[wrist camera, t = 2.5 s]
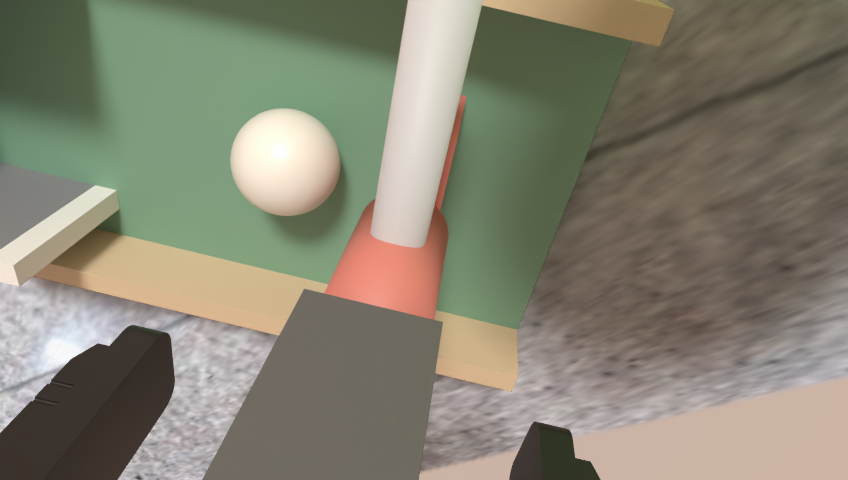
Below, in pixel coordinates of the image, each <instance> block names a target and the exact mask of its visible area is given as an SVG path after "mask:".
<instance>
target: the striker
mask: <svg viewBox="0 0 848 480" xmlns="http://www.w3.org/2000/svg"><path fill="white" fill-rule="evenodd" d="M482 3H483V0H408V3H407V9H406V16H405V22H404V28H403V34H402V40H401V46H400V52H399V58H398V65H397V71H396V77H395V83H394V89H393V95H392V101H391V107H390V114H389V120H388V126H387V132H386V138H385V144H384V150H383V156H382V163H381V169H380V175H379V181H378V187H377V193H376V198H375V199H374V200H372V201H371V202H370V203H369V204H368V205H367V206H366V207H365V209H364V211H363V212H362V215H361V217H360V219H359V221H358V223H357V225H356V227H355V229H354V231H353V233H352V236H351V238H350V240H349V242H348V244H347V246H346V248H345V250H344V252H343V255H342V257H341V259H340V261H339V263H338V265H337V267H336V269H335V271H334V274H333V276H332V278H331V280H330V282H329V284H328V286H327V288H326V290H325V292H324V293H320V292H316V291H312V290H308V289H304V290H303V292H302V294H301V296H300V297H299V299H298V301H297V303H296V305H295V307H294V309H293V311H292V312H291V314H290V316H289V318H288V320H287V322H286V324H285V326H284V328H283V329H282V331H281V333H280V335H279V337H278V339H277V341H276V343H275V344H274V346H273V348H272V350H271V352H270V354H269V356H268V358H267V359H266V361H265V363H264V365H263V367H262V369H261V371H260V373H259V374H258V376H257V378H256V380H255V382H254V384H253V386H252V388H251V389H250V391H249V393H248V395H247V397H246V399H245V401H244V403H243V404H242V406H241V408H240V410H239V412H238V414H237V416H236V418H235V420H234V421H233V423H232V425H231V427H230V429H229V431H228V433H227V435H226V436H225V438H224V440H223V442H222V444H221V446H220V448H219V450H218V451H217V453H216V455H215V457H214V459H213V461H212V463H211V465H210V466H209V468H208V470H207V472H206V474H205V476H204V478H203V480H419V474H420V467H421V461H422V454H423V448H424V442H425V435H426V429H427V422H428V416H429V409H430V403H431V397H432V390H433V384H434V377H435V371H436V364H437V358H438V352H439V345H440V339H441V332H442V326H443V322H441V321H437V320H434V317H435V311H436V306H437V300H438V294H439V289H440V283H441V278H442V272H443V266H444V261H445V255H446V250H447V244H448V238H449V231H448V226H447V222H446V220H445V218H444V216H443V214H442V213H441V211H440V209H441V205H442V200H443V196H444V192H445V188H446V184H447V180H448V176H449V172H450V168H451V164H452V160H453V156H454V151H455V147H456V143H457V139H458V134H459V130H460V125H461V120H462V116H463V111H464V106H465V102H466V97H467V96H464V95H461V91H462V87H463V83H464V79H465V75H466V70H467V66H468V62H469V58H470V53H471V49H472V45H473V41H474V37H475V32H476V28H477V24H478V20H479V15H480V11H481V7H482Z"/></svg>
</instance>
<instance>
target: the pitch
mask: <svg viewBox="0 0 848 480" xmlns="http://www.w3.org/2000/svg"><path fill="white" fill-rule="evenodd" d="M407 3H408V0H0V282H3V283H7V284H11V285H15V286H19V287H20V286H21V285H22V284H23V283H25V282H26V281H27V280H29V279H30V278H31V277H32V276H33V277H37V278H42V279H46V280H50V281H54V282H58V283H62V284H67V285H71V286H75V287H79V288H83V289H87V290H91V291H96V292H100V293H104V294H108V295H112V296H116V297H121V298H125V299H129V300H133V301H137V302H141V303H145V304H150V305H154V306H158V307H162V308H166V309H170V310H175V311H179V312H183V313H187V314H191V315H195V316H199V317H204V318H208V319H212V320H216V321H220V322H224V323H229V324H233V325H237V326H241V327H245V328H249V329H253V330H258V331H262V332H266V333H270V334H274V335H278V336H279V335H280V333H281V331H282V329H283V328H284V326H285V324H286V322H287V320H288V318H289V316H290V314H291V312H292V311H293V309H294V307H295V305H296V303H297V301H298V299H299V297H300V296H301V294H302V292H303V290H304V289H308V290H312V291H316V292H320V293H324V292H325V290H326V288H327V286H328V284H329V282H330V280H331V278H332V276H333V274H334V271H335V269H336V267H337V265H338V263H339V261H340V259H341V257H342V255H343V252H344V250H345V248H346V246H347V244H348V242H349V240H350V238H351V236H352V233H353V231H354V229H355V227H356V225H357V223H358V221H359V219H360V217H361V215H362V212H363V211H364V209H365V207H366V206H367V205H368V204H369V203H370V202H371V201H372V200H374V199H375V198H376V193H377V187H378V181H379V175H380V169H381V163H382V156H383V150H384V144H385V138H386V132H387V126H388V120H389V114H390V107H391V101H392V95H393V89H394V83H395V77H396V71H397V65H398V58H399V52H400V46H401V40H402V34H403V28H404V22H405V16H406V9H407ZM674 11H675V10H674V9H672V8H671V7H669V6H668V5H666V4H664V3H663V2H661V1H659V0H483V3H482V7H481V11H480V15H479V20H478V24H477V28H476V32H475V37H474V41H473V45H472V49H471V53H470V58H469V62H468V66H467V70H466V75H465V79H464V83H463V87H462V91H461V95H464V96H467V97H466V102H465V106H464V111H463V116H462V120H461V125H460V130H459V134H458V139H457V143H456V147H455V151H454V156H453V160H452V164H451V168H450V172H449V176H448V180H447V184H446V188H445V192H444V196H443V200H442V205H441V209H440V211H441V213H442V214H443V216H444V218H445V220H446V222H447V226H448V231H449V238H448V244H447V250H446V255H445V261H444V266H443V272H442V278H441V283H440V289H439V294H438V300H437V306H436V311H435V317H434V320H437V321H441V322H443V326H442V332H441V339H440V345H439V352H438V358H437V364H436V371H435V373H436V374H440V375H445V376H449V377H453V378H457V379H461V380H465V381H469V382H474V383H478V384H482V385H486V386H490V387H494V388H499V389H503V390H507V391H511V392H512V390H513V388H514V385H515V383H516V380H517V378H518V344H517V329H518V326H519V324H520V321H521V319H522V316H523V314H524V311H525V309H526V306H527V304H528V301H529V299H530V296H531V294H532V291H533V289H534V286H535V284H536V281H537V279H538V276H539V274H540V271H541V269H542V266H543V264H544V261H545V258H546V256H547V253H548V251H549V248H550V246H551V243H552V241H553V238H554V236H555V233H556V231H557V228H558V226H559V223H560V221H561V218H562V216H563V213H564V211H565V208H566V206H567V203H568V201H569V198H570V196H571V193H572V191H573V188H574V186H575V183H576V181H577V178H578V176H579V173H580V170H581V168H582V165H583V163H584V160H585V158H586V155H587V153H588V150H589V148H590V145H591V143H592V140H593V138H594V135H595V133H596V130H597V128H598V125H599V123H600V120H601V118H602V115H603V113H604V110H605V108H606V105H607V103H608V100H609V98H610V95H611V93H612V90H613V88H614V85H615V82H616V80H617V77H618V75H619V72H620V70H621V67H622V65H623V62H624V60H625V57H626V55H627V52H628V50H629V47H630V45H631V42H632V41H636V42H640V43H644V44H649V45H653V46H657V47H659V46H660V44H661V42H662V39H663V37H664V35H665V32H666V30H667V28H668V25H669V23H670V21H671V18H672V16H673V14H674ZM278 108H290V109H296V110H299V111H303V112H305V113H307V114H309V115H311V116H313V117H315V118H316V119H317V120H319V121H320V122H321V123H322V124H323V125H324V126H325V127H326V128H327V129H328V130H329V131H330V133H331V134H332V136H333V138H334V139H335V141H336V144H337V146H338V150H339V154H340V162H341V165H340V174H339V179H338V181H337V184H336V186H335V188H334V190H333V192H332V193H331V194H330V196H329V197H328V198H327V199H326V200H325V201H324V202H323V203H322V204H321V205H320V206H318V207H317V208H315V209H313V210H311V211H309V212H307V213H304V214H300V215H294V216H280V215H275V214H271V213H268V212H265V211H263V210H261V209H259V208H257V207H256V206H254V205H253V204H252V203H250V202H249V201H248V200H247V199H246V198H245V197H244V196H243V194H242V193H241V192H240V190H239V189H238V187H237V185H236V183H235V181H234V178H233V175H232V171H231V164H230V155H231V149H232V145H233V142H234V140H235V137H236V136H237V134H238V132H239V130H240V129H241V128H242V127H243V126H244V125H245V123H246V122H248V121H249V120H250V119H251V118H253V117H255V116H256V115H258V114H260V113H262V112H264V111H268V110H272V109H278Z"/></svg>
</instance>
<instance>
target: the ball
mask: <svg viewBox="0 0 848 480" xmlns="http://www.w3.org/2000/svg"><path fill="white" fill-rule="evenodd" d="M230 164H231V171H232V175H233V178H234V181H235V183H236V185H237V187H238V189H239V190H240V192H241V193H242V194H243V196H244V197H245V198H246V199H247V200H248V201H249V202H250V203H252V204H253V205H254V206H256V207H257V208H259V209H261V210H263V211H265V212H268V213H271V214H275V215H280V216H294V215H300V214H304V213H307V212H309V211H311V210H313V209H315V208H317V207H318V206H320V205H321V204H322V203H323V202H324V201H325V200H326V199H327V198H328V197H329V196H330V194H331V193H332V192H333V190H334V188H335V186H336V184H337V181H338V179H339V174H340V165H341V162H340V154H339V150H338V146H337V144H336V141H335V139H334V138H333V136H332V134H331V133H330V131H329V130H328V129H327V128H326V127H325V126H324V125H323V124H322V123H321V122H320V121H319V120H317V119H316V118H315V117H313V116H311V115H309V114H307V113H305V112H303V111H299V110H296V109H290V108H278V109H272V110H268V111H264V112H262V113H260V114H258V115H256V116H255V117H253V118H251V119H250V120H249V121H248V122H246V123H245V125H244V126H243V127H242V128H241V129H240V130H239V132H238V134H237V136H236V137H235V140H234V142H233V145H232V149H231V155H230Z"/></svg>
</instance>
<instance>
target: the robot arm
mask: <svg viewBox="0 0 848 480" xmlns="http://www.w3.org/2000/svg"><path fill="white" fill-rule="evenodd" d="M174 383H175V377H174V367H173V357H172V347H171V338H170V335H169V334H168V333H165V332H161V331H157V330H152V329H148V328H144V327H140V326H136V325H131V326H129V327H127V328H126V329H125V330H124V331H123V332H122V333H121V334H120V335H119V336H118V337H117V338H116V339H115V341H114V342H113V343H112V344H111V345H110V346H106V345H102V344H96V345H95V346H93V347H91V348H89V349H88V350H86V351H84V352H83V353H81V354H79V355H77V356H76V357H74V358H72V359H71V360H70V361H69V362H68V363H67V364H66V365H65V366H64V367H63V368H62V369H61V370H60V371H59V372H58V373H57V374H56V376H55V377H54V378H53V379H52V381H51V383H50V384H47V385H46V386H45V387H44V388H43V389H42V390H41V391H40V392H39V393H38V394H37V395H36V396H35V400H34V401H33V402H32V401H31V402H30V403H29V404H28V405H27V406H26V407H25V408H24V409H23V410H22V411H21V412H20V413H19V414H18V415H17V416H16V417H15V418H14V419H13V420H12V421H11V422H10V424H9V425H8V426H7V427H6V428H5V429H4V430H3V431H2V432H1V433H0V480H117V479H118V478H119V476H120V475H121V474H122V472H123V471H124V469H125V468H126V466H127V465H128V463H129V462H130V460H131V459H132V457H133V456H134V454H135V453H136V451H137V450H138V448H139V447H140V445H141V444H142V442H143V441H144V439H145V438H146V437H147V435H148V434H149V432H150V431H151V429H152V428H153V426H154V425H155V423H156V422H157V420H158V419H159V417H160V416H161V414H162V413H163V411H164V410H165V408H166V407H167V405H168V403H169V401H170V398H171V396H172V393H173V389H174ZM510 480H600V478H599V476H598V475H597V473H596V471H595V469H594V467H593V465H592V464H591V462H589V461H585V460H581V459H577V458H575V454H574V446H573V439H572V434H571V432H570V430H568V429H565V428H561V427H556V426H552V425H548V424H544V423H539V422H533V424H532V425H531V427H530V429H529V431H528V433H527V435H526V437H525V439H524V441H523V443H522V445H521V448H520V450H519V452H518V454H517V456H516V458H515V460H514V462H513V465H512V469H511V473H510Z"/></svg>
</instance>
